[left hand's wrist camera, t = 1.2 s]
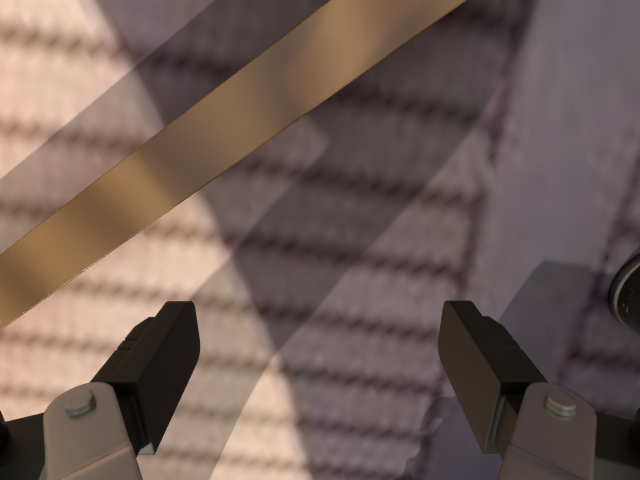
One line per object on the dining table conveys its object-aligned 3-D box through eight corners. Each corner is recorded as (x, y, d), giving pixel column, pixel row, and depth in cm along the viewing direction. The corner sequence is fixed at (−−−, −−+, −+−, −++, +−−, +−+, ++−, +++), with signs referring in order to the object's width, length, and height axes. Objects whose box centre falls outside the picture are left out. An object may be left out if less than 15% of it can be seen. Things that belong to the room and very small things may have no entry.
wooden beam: (488, -95, 25) (570, -187, 17) (511, -35, 26) (598, -94, 18) (-180, 410, 41) (-302, 487, 33) (-146, 432, 42) (-255, 511, 34)
